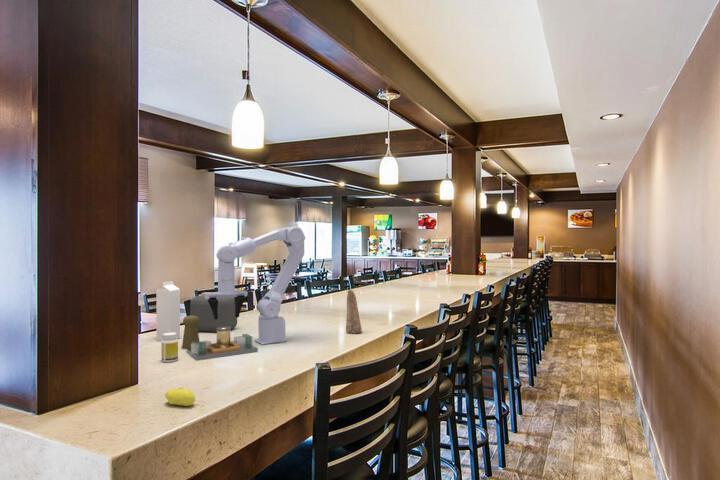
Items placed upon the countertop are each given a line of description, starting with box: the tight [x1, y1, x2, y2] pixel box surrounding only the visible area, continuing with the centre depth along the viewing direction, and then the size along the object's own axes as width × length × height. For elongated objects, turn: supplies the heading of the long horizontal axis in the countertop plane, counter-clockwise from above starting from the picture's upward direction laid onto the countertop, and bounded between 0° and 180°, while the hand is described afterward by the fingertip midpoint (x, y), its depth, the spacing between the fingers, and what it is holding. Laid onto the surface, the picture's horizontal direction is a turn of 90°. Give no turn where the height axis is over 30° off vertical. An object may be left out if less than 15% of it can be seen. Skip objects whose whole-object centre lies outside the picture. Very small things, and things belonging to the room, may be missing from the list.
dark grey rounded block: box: [189, 291, 238, 333], centre depth 192 cm, size 16×11×16 cm
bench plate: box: [186, 333, 259, 361], centre depth 155 cm, size 20×13×5 cm, turn 124°
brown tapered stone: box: [345, 289, 362, 335], centre depth 186 cm, size 6×18×6 cm
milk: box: [155, 280, 181, 342], centre depth 175 cm, size 6×6×22 cm
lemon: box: [164, 387, 196, 407], centre depth 106 cm, size 4×8×4 cm, turn 64°
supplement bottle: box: [161, 333, 179, 363], centre depth 144 cm, size 5×5×8 cm
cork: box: [181, 315, 200, 350], centre depth 162 cm, size 6×6×11 cm
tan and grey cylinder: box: [216, 326, 232, 348], centre depth 155 cm, size 5×5×7 cm
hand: (226, 317), depth 164 cm, fingers open, 7 cm apart
